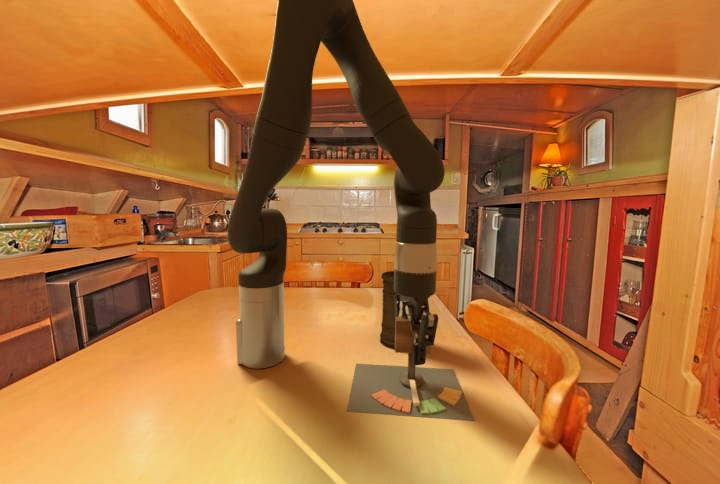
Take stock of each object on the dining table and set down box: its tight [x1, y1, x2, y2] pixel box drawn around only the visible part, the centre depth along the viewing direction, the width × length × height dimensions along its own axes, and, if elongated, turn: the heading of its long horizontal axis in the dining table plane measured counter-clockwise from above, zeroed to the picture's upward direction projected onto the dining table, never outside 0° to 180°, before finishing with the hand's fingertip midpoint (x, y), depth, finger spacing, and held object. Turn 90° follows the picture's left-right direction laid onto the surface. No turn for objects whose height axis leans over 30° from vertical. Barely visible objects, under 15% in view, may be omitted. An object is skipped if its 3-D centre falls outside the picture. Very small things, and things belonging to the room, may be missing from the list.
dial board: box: [346, 363, 475, 422], centre depth 55 cm, size 20×15×2 cm
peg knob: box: [394, 317, 432, 406], centre depth 53 cm, size 10×6×12 cm, turn 177°
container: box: [379, 270, 397, 350], centre depth 74 cm, size 9×9×18 cm
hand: (412, 356), depth 56 cm, fingers open, 5 cm apart
